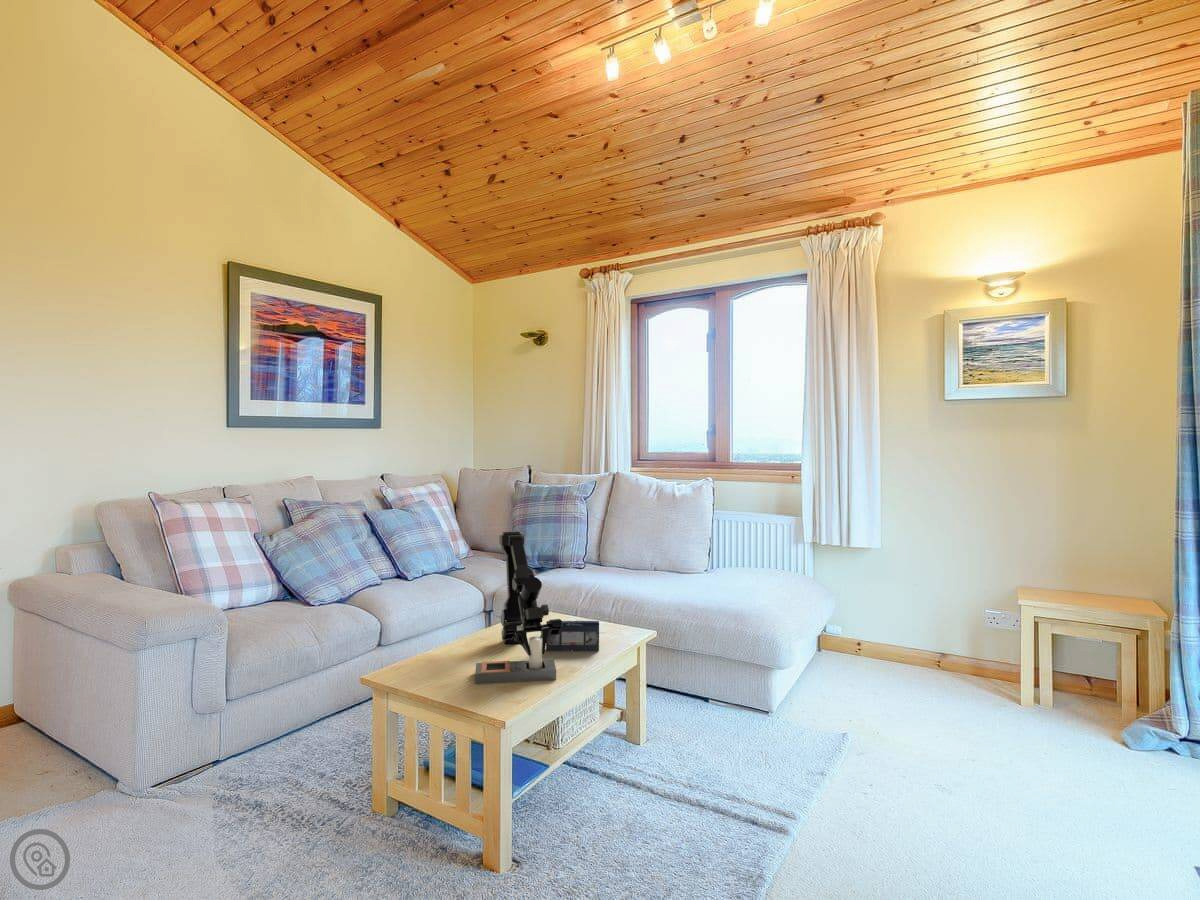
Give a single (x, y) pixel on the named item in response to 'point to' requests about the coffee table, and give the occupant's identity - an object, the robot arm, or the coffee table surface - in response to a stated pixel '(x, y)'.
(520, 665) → the rail
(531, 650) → the peg
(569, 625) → the vhs cassette tape
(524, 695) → the coffee table surface
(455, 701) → the coffee table surface
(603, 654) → the coffee table surface
